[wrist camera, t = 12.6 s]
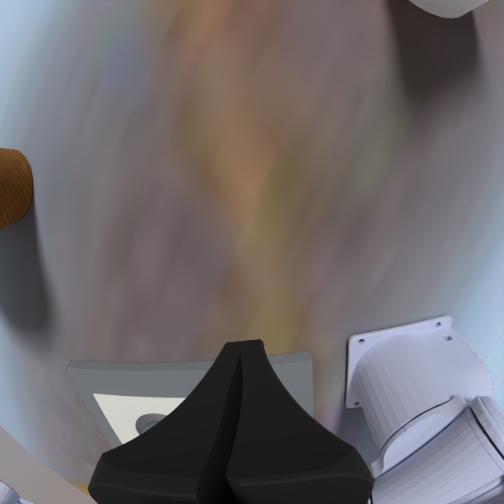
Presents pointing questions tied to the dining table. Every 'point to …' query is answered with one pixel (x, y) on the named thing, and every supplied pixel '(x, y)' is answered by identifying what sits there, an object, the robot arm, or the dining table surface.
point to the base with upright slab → (448, 7)
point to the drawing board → (164, 390)
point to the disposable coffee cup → (14, 186)
